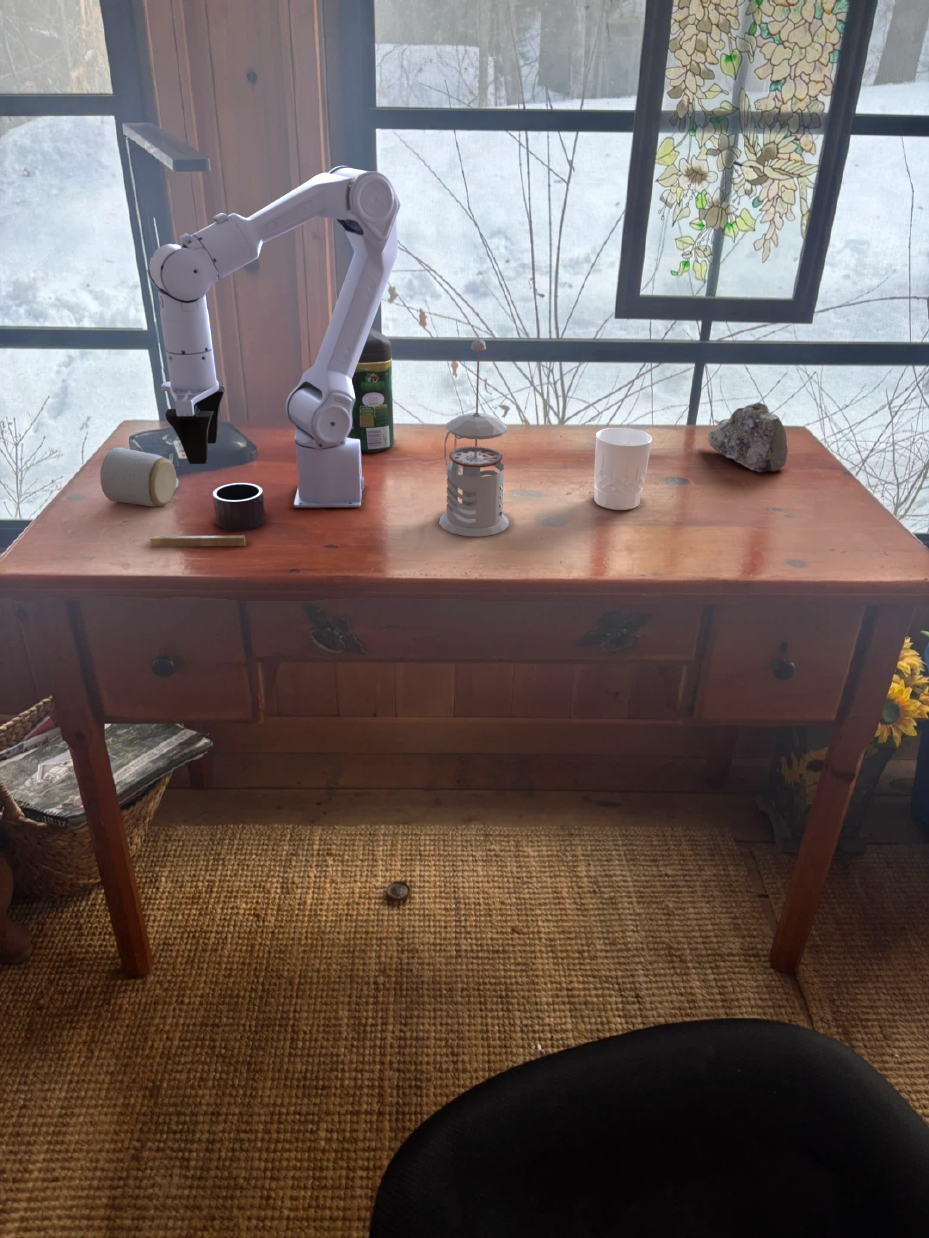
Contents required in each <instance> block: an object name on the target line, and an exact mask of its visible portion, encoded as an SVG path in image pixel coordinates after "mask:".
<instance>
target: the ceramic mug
mask: <svg viewBox="0 0 929 1238" xmlns="http://www.w3.org/2000/svg"><path fill="white" fill-rule="evenodd" d="M99 475H100V476H99V477H100V486H101V489H102V492H103V494H104V496H105V497H106V498H107V499H108V500H109V501H112V502H116V503H123V504H131V505H139V506H140V505H141V506H145V507H162V506H165V505H166V504H167V503H169V501H170V500H171V499H172V498H173V496H174V493H175V491H176V490H177V489H178V488H179V487H178V486H179V478H177V471H176V468H175V465H174V464H173V463H172V461H171V460H170V459H169V458H166V457H164V456H161V455H159V454H156V453H150V452H144V451H139V450H134V449H129V448H125V447H121V446H117V447H114V448H112V449H110V450H109V451H108V452H107V453H106V454H105V457H104V458H103V460H102V463H101V467H100V474H99Z"/></svg>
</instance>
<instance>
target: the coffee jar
mask: <svg viewBox="0 0 929 1238" xmlns="http://www.w3.org/2000/svg"><path fill="white" fill-rule="evenodd" d="M352 385H353V390H354V394H355V402H354V405H353V408H352V428H351V431H350V433H349V434H348V436H347V437H348V438H352V439H359V440H360V446H361V452H365V453H380V452H381V451H386V450H390V449H391V448H393V446H394V444H395V430H394V429H395V428H394V401H393V353H392V343H391V342H390V339H389V338H388V337H387V336H386V335H385V334H384V333H382V332H380V331H378V330H377V329H375V328H372V327H371V329H370V331H369V334H368V337H367V339H366V342H365V345H364V348H363V350H362V353H361V356H360V358H359V361H358V364H357V366H356V369H355V372H354V375H353V377H352Z"/></svg>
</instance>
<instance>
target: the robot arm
mask: <svg viewBox="0 0 929 1238" xmlns="http://www.w3.org/2000/svg"><path fill="white" fill-rule="evenodd" d="M401 206H402V203H401V201H400V199H399V197H398V195H397V193H396V191H395V188H394V186H393V184H392V183H391V181H390V179H389V178H388V177H387V176H386V175H385V174H384V173H381V172H380V171H374V170H362V169H356V168H353V167H350V166H348V165H339V166H336V167H333V168H331V170H329V171H328V172H322V173H319V174H317V175H315V176H313V177H312V178H310V179H309V180H307V181H305V182H304V183H302V184H300V185H299V186H297V187H296V188H294V189H292V190H291V191H289V192H288V193H286V194H285V195H283V196H281V197H280V198H278V199H276V200H274V201H273V202H271V203H269V204H268V205H266V206H265V207H263V208H261V209H259V210H258V211H256V212H255V213H253V214H252V215H250V216H248V217H244V216H242V215H240V214H238V213H234V212H233V213H230V214H226V213H224V212H219V213H218V214H216V215H214V216H213V217H212V218H213V220H214V222H213V223H212V224H210V225H208V226H206V227H204V228H202V229H199V231H196V232H194V233H192V234H191V235H190V234H188V233H187V232H186V233H184V234H181V235H180V236H179V240H180V245H179V244H172V243H168V244H163V245H161V246H159V247H158V248H157V249H155V251H154V252H153V255H152V256H151V257H150V260H149V267H148V268H147V270H146V271H147V274H148V278H149V280H150V283H152V285H154V287H155V288H156V289H157V296H158V304H159V315H160V317H159V318H160V322H161V331H162V337H163V345H164V350H165V357H166V363H167V370H168V376H169V381H164V382H162V384H161V385H160V388H161V391H162V392H169V393H170V394H171V396H172V398H173V399H174V406H175V408H168V409H167V410H166V411H165V413H164V414H165V419H166V422H167V423H168V424H169V425H170V426H171V428H172V429H173V430H174V432H175V434H176V436H177V437H178V439H179V441H180V444H181V446H182V448H183V449H182V450H183V452H184V454H185V456H186V459H187V461H188V463H189V465H205V464H206V463H207V460H208V455H209V454H208V452H209V448H208V446H209V444H216V443H217V439H218V429H219V428H218V427H219V414H220V410H221V409H220V408H221V404H222V400H223V397H224V394H225V392H226V389H225V387H224V386H223V385H222V386H221V385H220V384H219V381H218V379H217V371H216V364H215V355H214V349H213V340H212V331H211V323H210V314H209V310H208V304H207V303H208V302H207V296H206V295H207V293H208V292H209V290H210V288H211V285H212V283H216V282H218V281H220V280H221V279H223V278H225V277H227V276H229V275H231V274H232V273H234V272H236V271H238V270H240V269H241V268H243V267H245V266H247V265H248V264H251V263H252V262H254V261H256V260H257V259H258V258H259V255H260V252H261V249H262V246H263V244H264V243H267V242H269V241H271V240H273V239H275V238H277V237H279V236H281V235H283V234H285V233H287V232H290V231H291V230H293V229H296V228H298V227H299V226H301V225H304V224H306V223H308V222H310V221H312V220H314V219H316V218H323V219H324V218H325V219H333V220H335V221H336V222H337V223H338V224H339V225H340V226H341V228H342V229H343V230H344V232H345V234H346V237H347V239H348V242H349V243H350V246H351V247H352V250H353V255H352V258H351V260H350V264H349V267H348V270H347V273H346V275H345V278H344V281H343V284H342V287H341V290H340V291H339V295H338V298H337V299H336V304H335V306H334V308H333V312H332V314H331V317H330V320H329V323H328V326H327V329H326V332H325V334H324V337H323V340H322V342H321V345H320V347H319V351H318V354H317V356H316V359H315V362H314V364H313V365H312V366H310V367H309V368H308V369H307V370H305V372H303V373H302V375H301V378H300V380H299V383H298V384H297V385H296V387H295V388H294V389H292V391H291V392H290V393H289V395H288V396H287V398H286V402H285V413H286V416H287V418H288V420H289V421H290V422H291V423H292V425H294V428H295V431H294V434H293V435H294V436H293V440H294V452H295V464H296V478H297V490H296V493H295V496H294V501H293V507H294V508H297V509H299V508H300V509H301V508H303V509H305V508H315V509H316V508H317V509H318V508H360V507H361V506H362V496H363V490H364V489H365V479H364V476H363V471H362V451H361V446H360V440H359V439H352V438H348V437H347V436H348V434H349V433H350V431H351V428H352V408H353V405H354V402H355V394H354V390H353V385H352V377H353V375H354V372H355V369H356V366H357V364H358V361H359V358H360V356H361V353H362V350H363V348H364V345H365V342H366V339H367V337H368V334H369V331H370V329H371V328H372V326H373V323H374V320H375V318H376V315H377V312H378V309H379V307H380V304H381V302H382V298H383V297H384V294H385V291H386V288H387V285H388V284H389V283H388V282H389V280H390V277H391V274H392V272H393V269H394V266H395V264H396V261H397V259H398V253H399V241H398V239H399V238H398V237H399V236H398V220H397V219H398V218H397V217H398V214H399V211H400V209H401Z"/></svg>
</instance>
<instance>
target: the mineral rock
mask: <svg viewBox="0 0 929 1238" xmlns="http://www.w3.org/2000/svg"><path fill="white" fill-rule="evenodd" d="M730 415H731V416H730V418H724V419H721V420H720V421H719V422H718V424H717V427H716V428H715V429H712V430H711V431H709V432H708V436H707V441H708V443H709V446H710V447H711V448H712V449H714V450H715V451H716V452H717V453H718V454H721V455H723V456H725V458H726V459H727V458H728V459H732V460H733V461H734V462H735V463H737V464H740V465H742V466H744V467H745V468H748V469H749V470H750V471H756V472H758V473H765V472H767V471H768V472H777V471H779V470H781V469H782V468H783V467H785V465H786V463H787V459H788V457H787V456H788V452H789V449H788V441H787V440H788V439H787V433H786V430H785V427H784V425H783V423H782V420H781V419H780V417H779V416H778V415H776V414H775V413H772V412H771V411H770V410H769V408H768V406H767V405H766V404H764V403H762V402H759V401H757V402H755V403H751V404H747V405H745V406H744V407H738V408H737V409H735V411H733V412H732V414H730Z"/></svg>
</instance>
